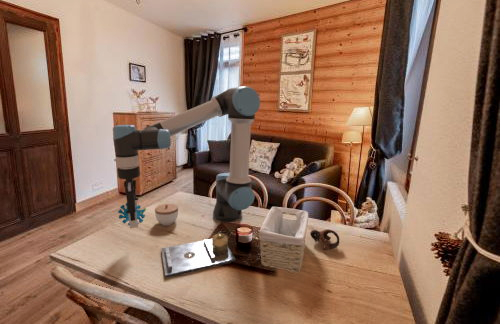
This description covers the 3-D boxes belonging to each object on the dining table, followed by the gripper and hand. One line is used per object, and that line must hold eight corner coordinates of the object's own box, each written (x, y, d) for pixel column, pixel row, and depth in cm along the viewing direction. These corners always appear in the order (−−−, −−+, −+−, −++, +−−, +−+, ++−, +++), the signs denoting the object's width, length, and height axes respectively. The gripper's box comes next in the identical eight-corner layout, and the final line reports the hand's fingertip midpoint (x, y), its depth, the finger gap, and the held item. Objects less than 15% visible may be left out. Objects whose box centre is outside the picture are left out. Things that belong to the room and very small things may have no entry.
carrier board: (222, 239, 108) (222, 223, 106) (235, 261, 93) (235, 244, 91) (161, 251, 98) (160, 234, 97) (165, 278, 83) (164, 258, 82)
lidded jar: (183, 221, 124) (182, 203, 122) (165, 230, 115) (164, 211, 113) (168, 215, 129) (167, 198, 127) (151, 223, 120) (149, 205, 118)
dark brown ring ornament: (335, 241, 110) (342, 231, 104) (332, 260, 103) (340, 251, 97) (309, 230, 112) (314, 220, 106) (304, 248, 105) (310, 238, 100)
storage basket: (301, 277, 86) (304, 238, 82) (256, 267, 90) (257, 230, 87) (306, 241, 108) (309, 210, 105) (270, 235, 113) (271, 205, 109)
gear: (125, 227, 91) (115, 204, 94) (118, 234, 93) (109, 212, 97) (152, 219, 100) (142, 198, 103) (145, 226, 103) (136, 206, 106)
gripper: (119, 161, 101) (125, 212, 106) (114, 175, 82) (121, 237, 87) (139, 159, 104) (144, 209, 109) (139, 173, 85) (145, 232, 90)
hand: (134, 221), depth 98 cm, fingers closed on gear, 9 cm apart
